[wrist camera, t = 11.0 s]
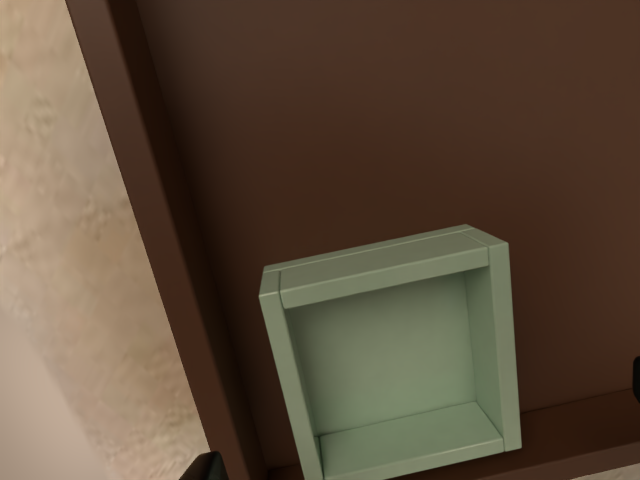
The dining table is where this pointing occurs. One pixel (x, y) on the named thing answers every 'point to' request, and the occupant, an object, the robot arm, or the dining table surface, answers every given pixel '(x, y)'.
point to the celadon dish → (396, 353)
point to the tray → (386, 188)
